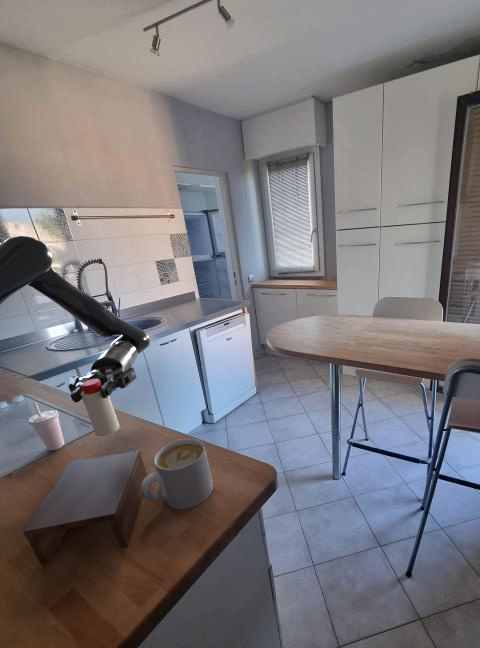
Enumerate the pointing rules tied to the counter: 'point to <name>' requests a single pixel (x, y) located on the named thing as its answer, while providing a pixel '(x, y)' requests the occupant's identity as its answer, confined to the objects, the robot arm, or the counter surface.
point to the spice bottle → (99, 408)
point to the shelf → (89, 501)
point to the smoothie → (48, 428)
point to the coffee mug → (180, 475)
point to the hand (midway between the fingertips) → (89, 396)
